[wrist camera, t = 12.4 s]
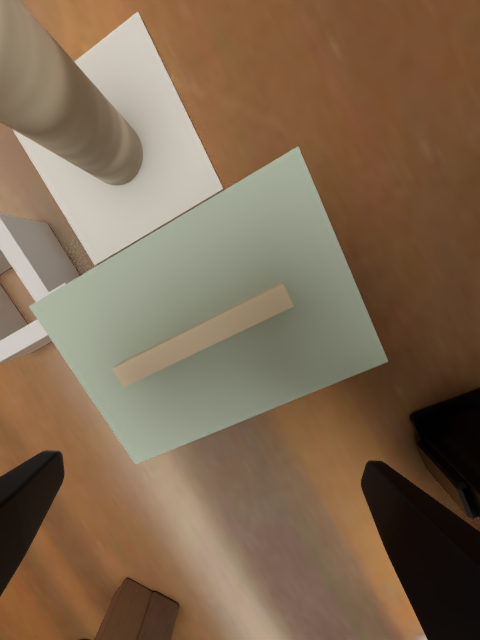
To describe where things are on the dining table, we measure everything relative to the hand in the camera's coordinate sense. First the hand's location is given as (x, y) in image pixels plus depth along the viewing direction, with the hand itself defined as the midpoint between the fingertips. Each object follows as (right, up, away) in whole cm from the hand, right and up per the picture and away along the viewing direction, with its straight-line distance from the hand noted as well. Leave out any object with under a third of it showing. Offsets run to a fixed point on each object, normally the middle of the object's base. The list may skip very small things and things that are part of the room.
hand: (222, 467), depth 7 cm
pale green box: (-6, +6, +11) cm, 14 cm away
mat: (-8, +16, +9) cm, 20 cm away
